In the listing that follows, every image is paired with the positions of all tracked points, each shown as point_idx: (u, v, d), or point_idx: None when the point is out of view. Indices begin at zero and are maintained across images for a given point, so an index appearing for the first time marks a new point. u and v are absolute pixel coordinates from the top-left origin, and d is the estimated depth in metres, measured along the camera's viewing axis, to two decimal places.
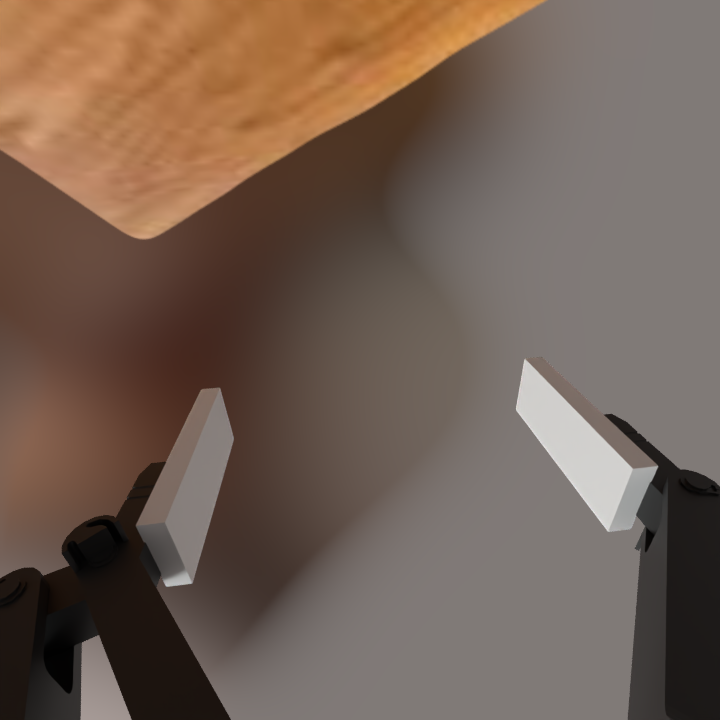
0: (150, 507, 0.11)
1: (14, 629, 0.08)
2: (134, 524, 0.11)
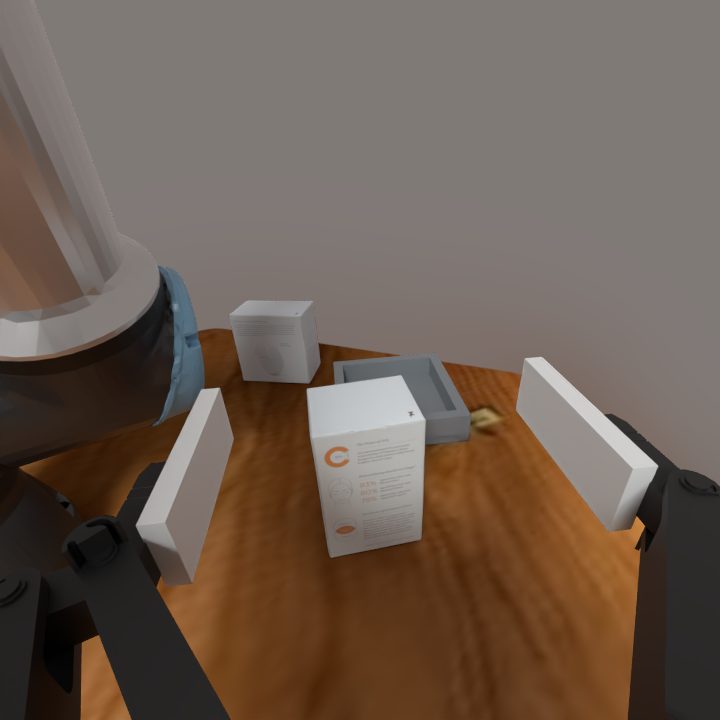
0: (150, 507, 0.11)
1: (14, 629, 0.08)
2: (134, 524, 0.11)
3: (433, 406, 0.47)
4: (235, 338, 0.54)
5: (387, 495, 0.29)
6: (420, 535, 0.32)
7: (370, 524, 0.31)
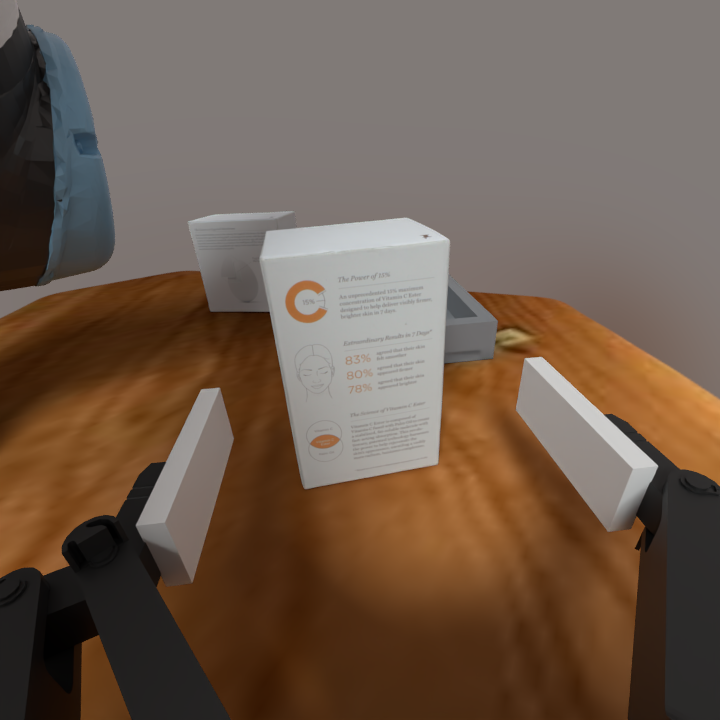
0: (150, 507, 0.11)
1: (14, 629, 0.08)
2: (134, 524, 0.11)
3: None
4: (197, 254, 0.43)
5: (387, 382, 0.19)
6: (436, 457, 0.22)
7: (363, 433, 0.20)
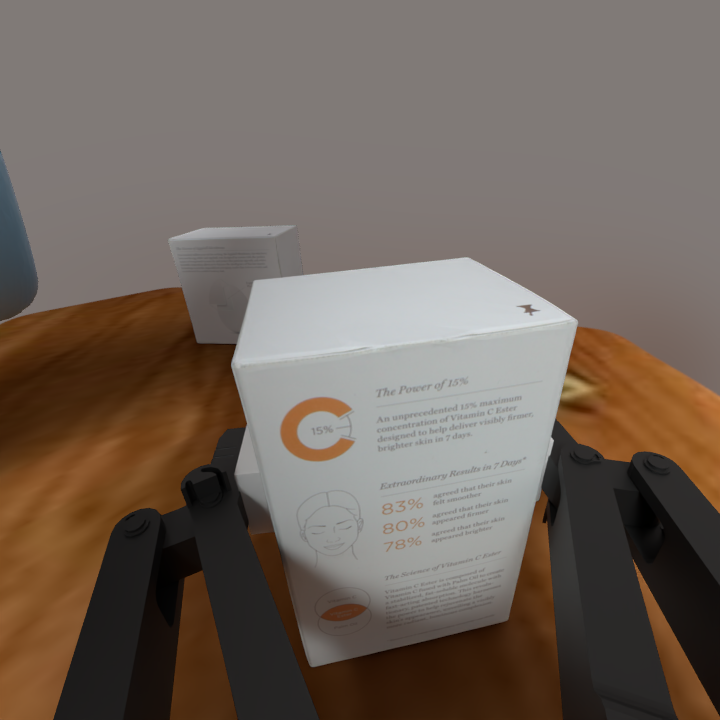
0: (242, 461, 0.12)
1: (137, 560, 0.09)
2: None
3: None
4: (180, 277, 0.36)
5: (447, 531, 0.12)
6: (508, 613, 0.15)
7: (404, 597, 0.13)
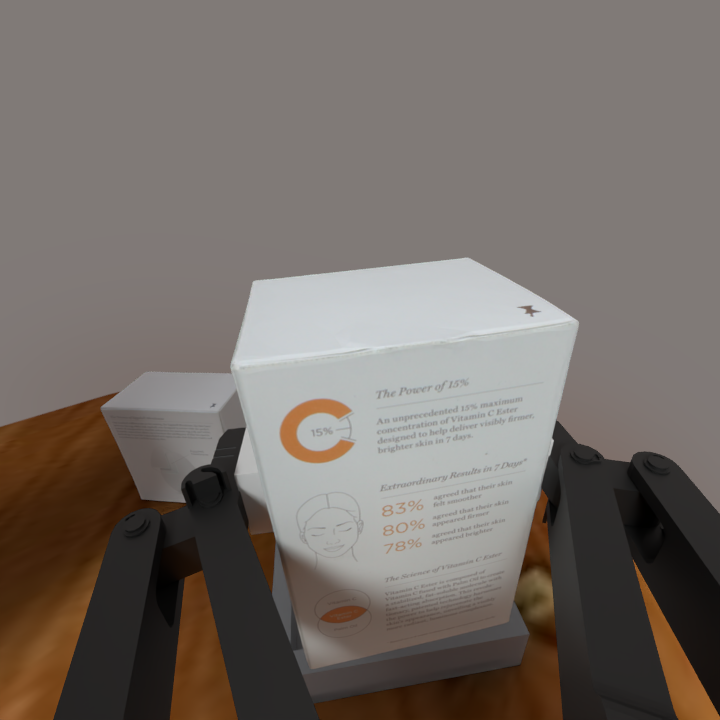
0: (242, 461, 0.12)
1: (137, 560, 0.09)
2: None
3: None
4: (117, 441, 0.33)
5: (447, 533, 0.12)
6: (508, 614, 0.15)
7: (404, 599, 0.13)
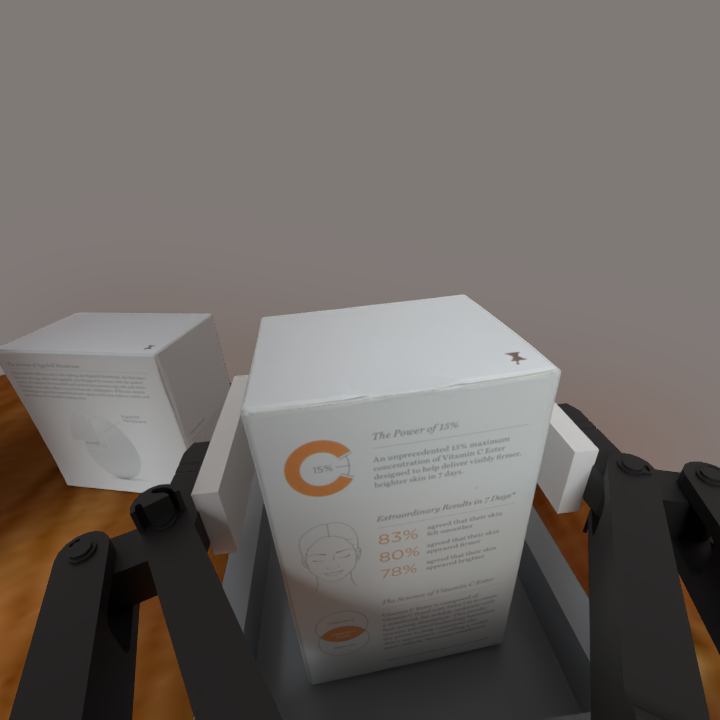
0: (202, 479, 0.11)
1: (84, 587, 0.09)
2: (186, 495, 0.12)
3: None
4: (24, 401, 0.23)
5: (440, 560, 0.12)
6: (502, 635, 0.15)
7: (400, 621, 0.14)
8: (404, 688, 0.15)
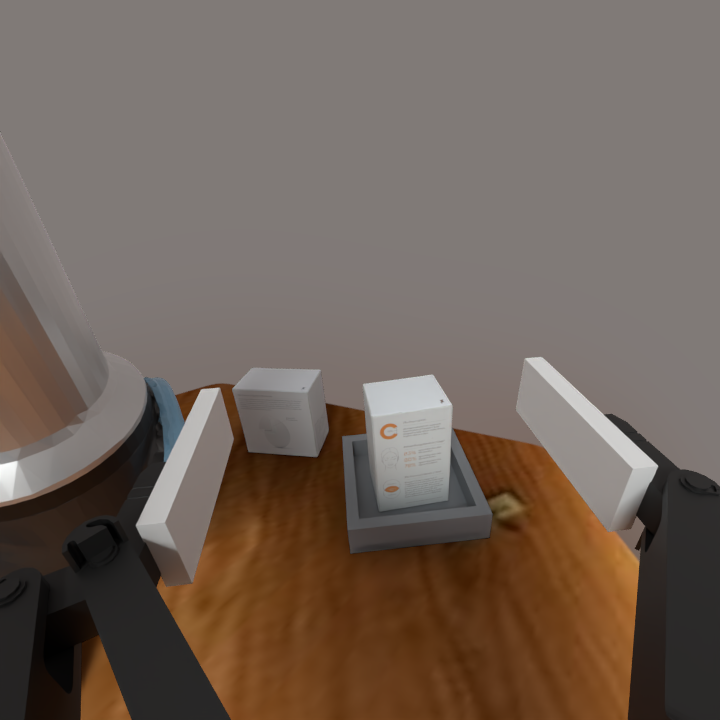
0: (150, 507, 0.11)
1: (14, 629, 0.08)
2: (134, 524, 0.11)
3: (449, 493, 0.44)
4: (239, 411, 0.51)
5: (423, 462, 0.40)
6: (447, 496, 0.43)
7: (410, 485, 0.41)
8: (412, 512, 0.42)
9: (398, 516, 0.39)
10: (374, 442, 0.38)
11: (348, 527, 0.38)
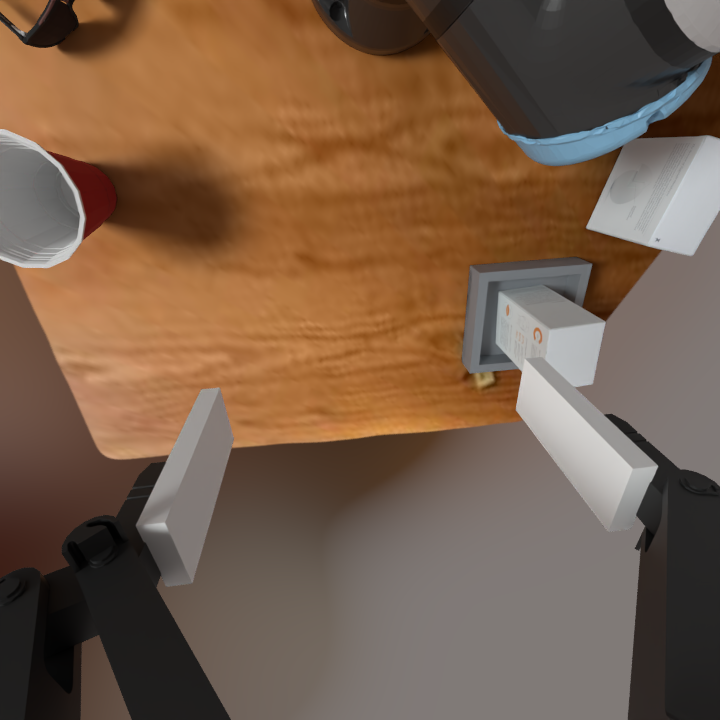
0: (150, 507, 0.11)
1: (14, 629, 0.08)
2: (134, 524, 0.11)
3: None
4: (674, 139, 0.39)
5: (516, 344, 0.48)
6: (497, 344, 0.55)
7: (506, 325, 0.50)
8: (492, 316, 0.53)
9: (483, 311, 0.50)
10: (534, 319, 0.43)
11: (482, 273, 0.47)
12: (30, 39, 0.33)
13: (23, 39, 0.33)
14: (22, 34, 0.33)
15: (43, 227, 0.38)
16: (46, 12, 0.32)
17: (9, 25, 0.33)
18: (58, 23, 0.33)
